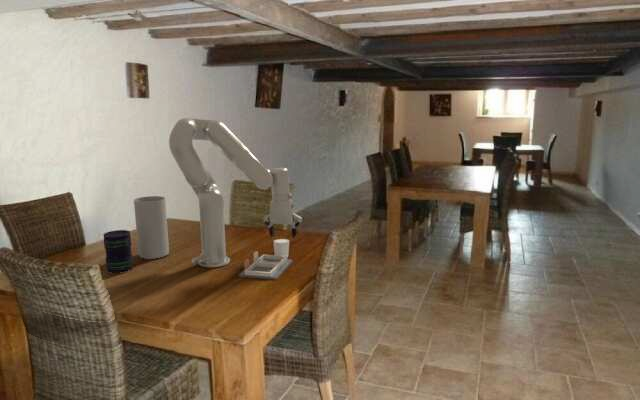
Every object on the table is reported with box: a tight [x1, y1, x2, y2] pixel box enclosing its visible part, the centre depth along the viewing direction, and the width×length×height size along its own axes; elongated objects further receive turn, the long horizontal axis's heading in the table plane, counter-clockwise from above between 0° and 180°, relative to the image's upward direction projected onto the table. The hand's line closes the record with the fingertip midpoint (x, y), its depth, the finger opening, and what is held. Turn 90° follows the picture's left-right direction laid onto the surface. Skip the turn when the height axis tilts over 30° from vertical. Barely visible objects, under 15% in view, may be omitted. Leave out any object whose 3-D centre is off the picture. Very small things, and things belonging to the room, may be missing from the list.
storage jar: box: [102, 229, 134, 274], centre depth 184 cm, size 10×10×15 cm
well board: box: [238, 250, 293, 281], centre depth 185 cm, size 21×15×5 cm
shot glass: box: [273, 238, 290, 258], centre depth 200 cm, size 7×7×7 cm
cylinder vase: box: [133, 195, 170, 260], centre depth 200 cm, size 12×12×25 cm
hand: (283, 236), depth 199 cm, fingers open, 9 cm apart
